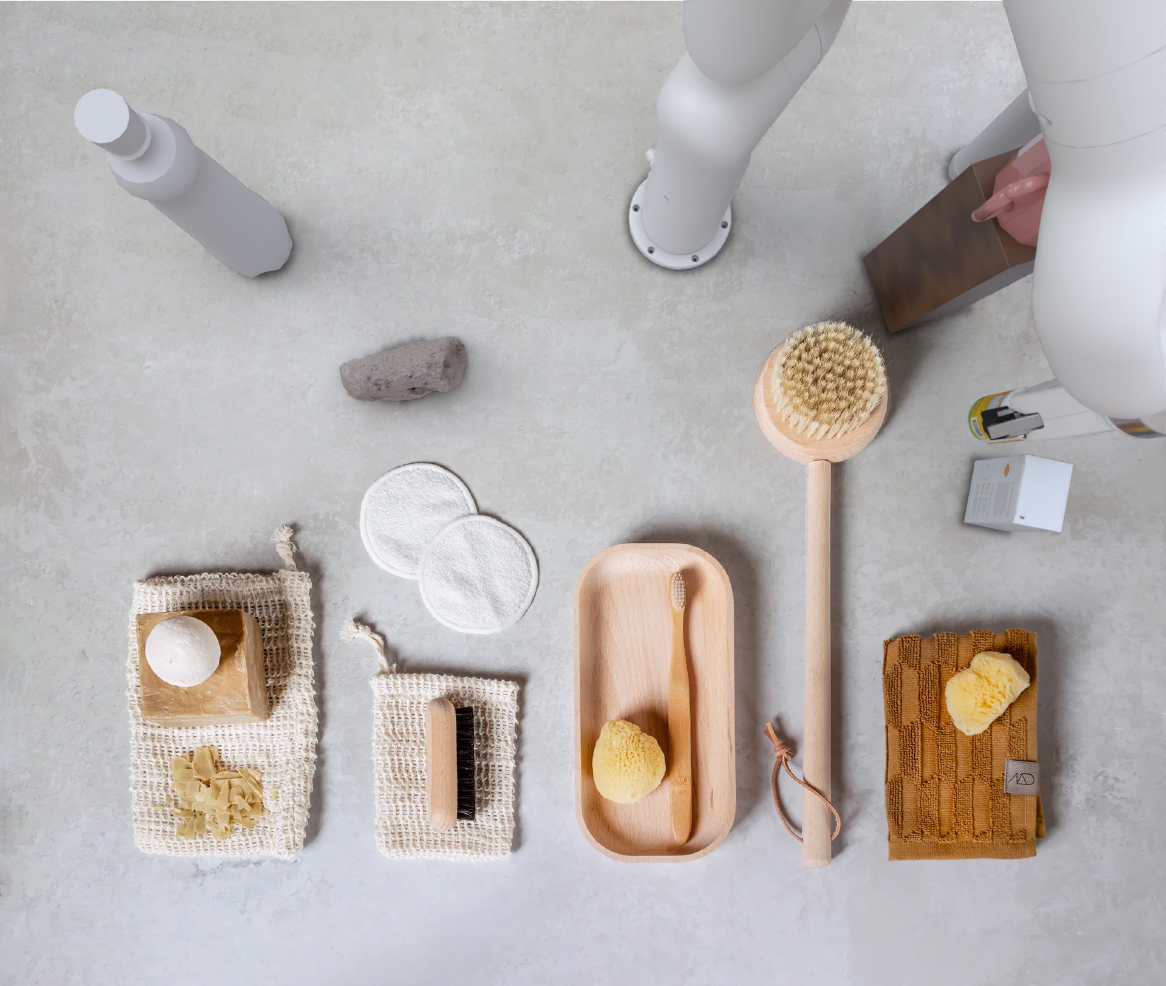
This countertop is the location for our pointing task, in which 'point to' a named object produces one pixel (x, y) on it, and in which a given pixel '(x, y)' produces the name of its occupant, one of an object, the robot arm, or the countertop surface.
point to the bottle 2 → (1000, 135)
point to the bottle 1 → (185, 184)
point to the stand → (947, 253)
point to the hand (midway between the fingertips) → (1015, 415)
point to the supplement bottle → (987, 403)
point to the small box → (1019, 493)
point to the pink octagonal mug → (1020, 193)
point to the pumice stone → (406, 371)
